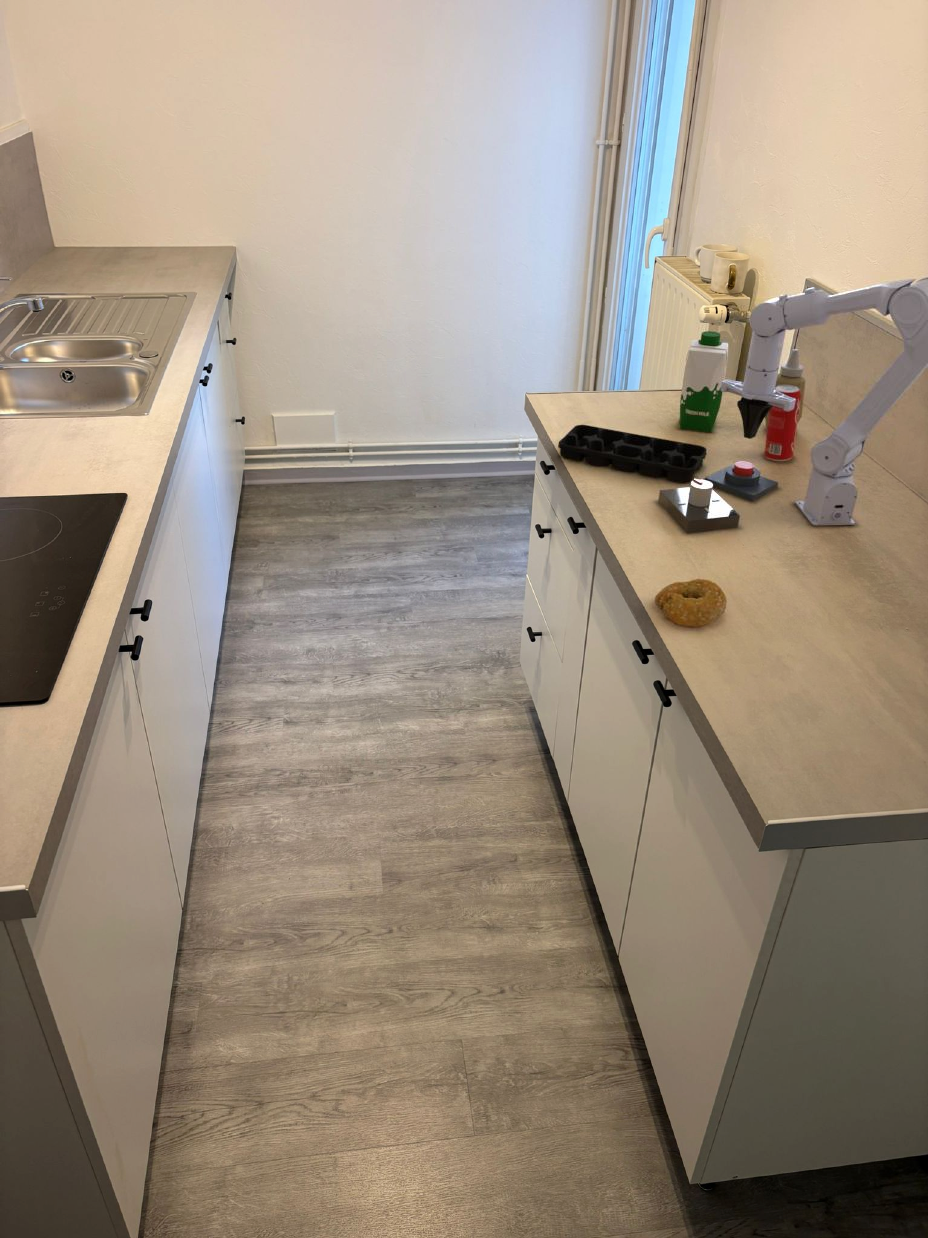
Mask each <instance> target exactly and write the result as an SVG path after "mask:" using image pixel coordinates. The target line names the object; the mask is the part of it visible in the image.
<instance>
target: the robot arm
mask: <svg viewBox="0 0 928 1238" xmlns="http://www.w3.org/2000/svg"><path fill="white" fill-rule="evenodd" d="M916 280H917V279H916V278H907V279H901V280H894V281H887V282H883V283H878V284H874V285H869V286H865V287H861V288H857V289H853V290H849V291H844V292H840V293H835V294H833V295H832V294H830V293H828V292H827V291H825V290H824V289H818V290H816V287H810V288H809V287H808V288H806V289H804V292H803V293H797V294H793V295H789V296H788V294H781V295H779V296H778V297H774V298H771V299H769V300H767V301H764V302H762V303H759V304H758V305H756V306H755V307H754V308H753V309H752V310H751V311H750V315H749V319H748V320H749V326H750V328H751V330H752V334H751V338H750V339H751V340H750V344H749V348H748V349H749V350H748V355H747V360H746V367H745V373H744V378H743V381H738V380H733V379H732V380H731V379H728V378H727V379H725V381H722V386H721V391H722V392H723V393H730V394H733V395H736V396H739V397H741V398H740V400H737V403H736V406H737V409H738V410H739V414H740V417H741V420H742V426H743V427H742V428H743V437H744V438H746V439H749V440H750V439H753V438H755V437H756V436H757V433H758V431H759V428H760V427H761V425H762V423H763V421H764V420H765V416H766V415H767V414H768V412H769V411H770V410H771V408H772V407H773V406H776V407H780V408H783V409H784V410H785V411H791V410H793V409H794V406H795V401H796V399H794V398H791V397H789V396H786V395H784V394H782V393H780V392H778V391H776V390H775V385H776V379H777V374H779V370H780V369H779V368H780V363H781V359H782V353H783V348H784V341H785V337H786V332H787V331H792V330H798V329H805V328H809V327H815V326H820V325H824V324H826V323H827V322H828V321H829V319H830V318H831V317H832V315H833V316H834V315H839V314H846V313H852V312H858V311H859V312H860V311H867V310H872V309H875V310H876V311H877V312H878V313H879V314H880V315H882V316H883V317H886V316H889V315H890V318H891V320H892V322H893V324H894V325H895V327H896V329H897V330H898V332H899V334H900V335H901V338H902V343H903V349H902V351H901V352H900V353H899V355H898V356H897V357H896V358H895V359H894V360H893V361H892V363H890V365H889V366H888V368H887V369H886V370H885V371H884V372H883V374H882V375H881V376H880V377H879V378H878V380H877V381H876V382H875V383H874V385H872V387H871V388H870V389H869V391H868V392H867V393H866V394H864V395H865V396H863V398H862V399H861V400H860V401H859V402H858V404H857V405H856V406H855V407H854V409H853V410H852V411H851V412H850V413H849V415H848V416H847V417H846V419H844V420H843V422H841V423H840V424H839V425H838V426H837V427H836V428H835V429H834V430H833V431H832V432H831V433H830V434H829V436H827V437H826V438H824V439H822V440H820V441H817V442H816V443H815V444H814V445H813V446H812V448H811V451H810V455H809V457H810V462H811V464H812V467H811V472H810V475H809V480H808V484H807V490H806V494H805V498H804V500H796V501H795V502H794V503H795V505H796V506H797V507H798V509H799V510H800V511H801V512H802V514H803V515H804V516H805V517H806V519H807V520H808V521H809V523H810V524H811V525H812V526H815V527H816V526H817V527H818V526H854V525H856V521H855V520H854V519H853V514H854V510H855V505H856V502H857V498H858V489H857V488H856V485H855V483H854V473H855V470H856V468H855V467H856V465H855V460H856V459H858V458H859V457H860V456H861V455H862V454H863V452H864V450H865V446H866V442H867V440H868V439H869V438H870V436H871V435H872V433H873V430H874V429H876V427H877V426H878V424H879V423H880V422H882V420H883V418H885V416H886V415H887V414H888V413H889V412H890V411H891V409H892V408H893V407H894V406H895V405H896V404H897V403H898V401H899V400H900V399H901V398H902V397H903V396H904V394H906V392H907V391H908V389H909V388H911V386H912V385H913V384H914V383H915V382H916V381H917V379H918V378H919V377H920V376H921V375H922V374H923V372H924V371H925V370H926V369H927V368H928V276H927V277H922V278H920V279H919V280H917V281H916ZM915 281H916V282H915ZM914 282H915V283H914ZM912 283H913V284H912Z"/></svg>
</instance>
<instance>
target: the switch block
mask: <svg viewBox="0 0 928 1238" xmlns="http://www.w3.org/2000/svg"><path fill="white" fill-rule="evenodd" d="M734 466H735V464H732V465H731V464H730V465H728V466H726V467H724V468H721V469H720V470H718V471H716V472H713V473H712V474H710V475H708V476H705V477H704V480H706V481H709V482H711V483H712V484H713V488H714V489H717V490H719V491H722V492H725V493H727V494H730V495H732V496H735V497H738V498H740V499H744V500H746V501H749V502H752V503H753V502H755V501H757V500H759V499H760V498H762V497H765V496H766V495H768V494H770V493H772V492H773V491H775V490H777V489H778V487H779V481H776V480H773V479H770V478H767V477H765V476H762V475H761V471H760V470H759V469H758V468H756V467H754V468H753V473H752V475H751V476H741V475H737V474H735V473H734Z"/></svg>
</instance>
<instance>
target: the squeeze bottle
mask: <svg viewBox="0 0 928 1238" xmlns="http://www.w3.org/2000/svg"><path fill="white" fill-rule="evenodd" d="M799 354H800V353H799V349H798V348H793V349H792V350H791V353H790V355H789V357H788V360H787V362H786V363H782V364H781V365H780V369H779V372H778V374H777V379H776V385H775V386H777V385H782V384H790V385H795V386H798V387H800V392H801V401H800V408H799V416H798V423H797V425H798V424H799V423H800V420H801V419H802V417H803V410H804V409H803V408H804V400H805V399H804V398H805V389H806V379H805V377H804V376H803V372H804V367H803V365H801V364H800V359H799V357H800V355H799ZM769 412H770V411H769ZM769 412H768V414H767V415H766V416H765V418H764V421H765V427H766V429H767V428H768V420H769Z"/></svg>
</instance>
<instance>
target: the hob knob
mask: <svg viewBox="0 0 928 1238" xmlns="http://www.w3.org/2000/svg"><path fill="white" fill-rule="evenodd" d="M689 487H690V491H689V497H688V502H689V503H690V504H691V505H694V506H698V507H705V506H708V505H709V504H710V501H711V495H712V490H714V489H713V488H714V487H713V484H712V483H711V482H709V481H706V480H705V479H697V478H693V479H692V480H691V481H690V485H689Z"/></svg>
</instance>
